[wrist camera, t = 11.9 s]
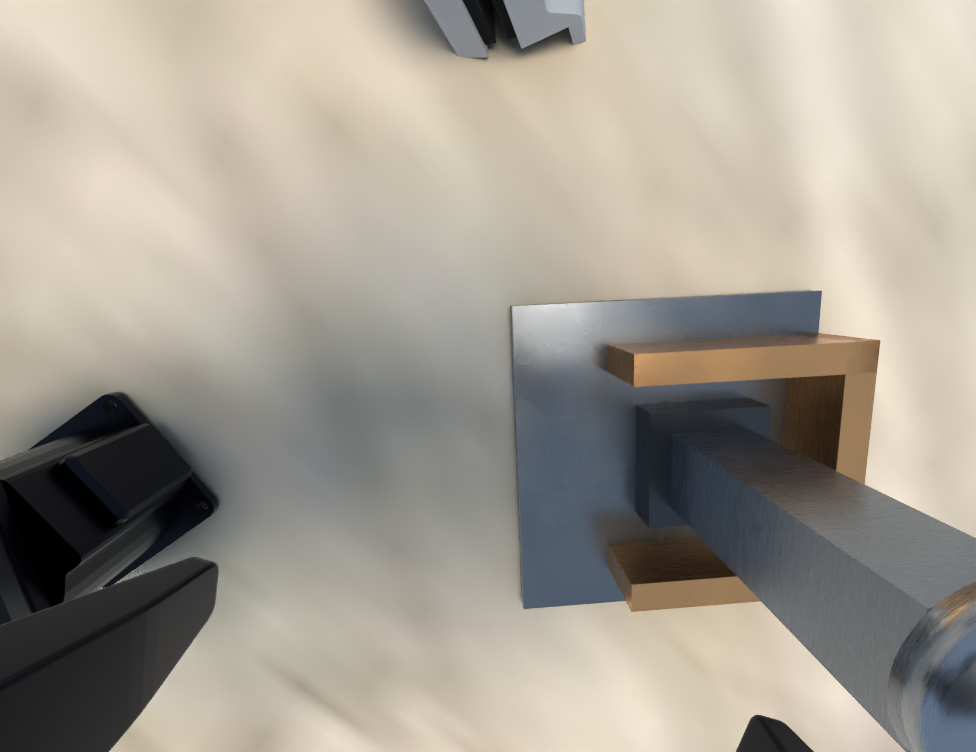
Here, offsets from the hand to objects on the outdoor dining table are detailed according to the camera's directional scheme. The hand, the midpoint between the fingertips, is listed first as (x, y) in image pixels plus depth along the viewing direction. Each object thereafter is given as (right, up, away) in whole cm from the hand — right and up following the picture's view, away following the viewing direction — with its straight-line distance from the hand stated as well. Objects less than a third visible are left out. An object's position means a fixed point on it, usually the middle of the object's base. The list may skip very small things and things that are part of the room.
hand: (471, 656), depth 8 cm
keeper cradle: (+8, +1, +14) cm, 16 cm away
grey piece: (+9, +1, +13) cm, 16 cm away
